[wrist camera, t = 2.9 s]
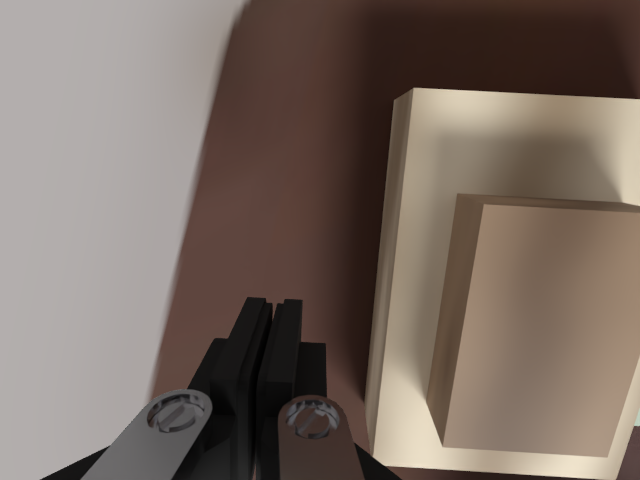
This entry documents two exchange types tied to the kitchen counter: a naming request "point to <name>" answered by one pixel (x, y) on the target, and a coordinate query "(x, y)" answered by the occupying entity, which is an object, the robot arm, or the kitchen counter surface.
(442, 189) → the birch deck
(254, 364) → the robot arm
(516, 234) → the brown box
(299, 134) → the kitchen counter surface
